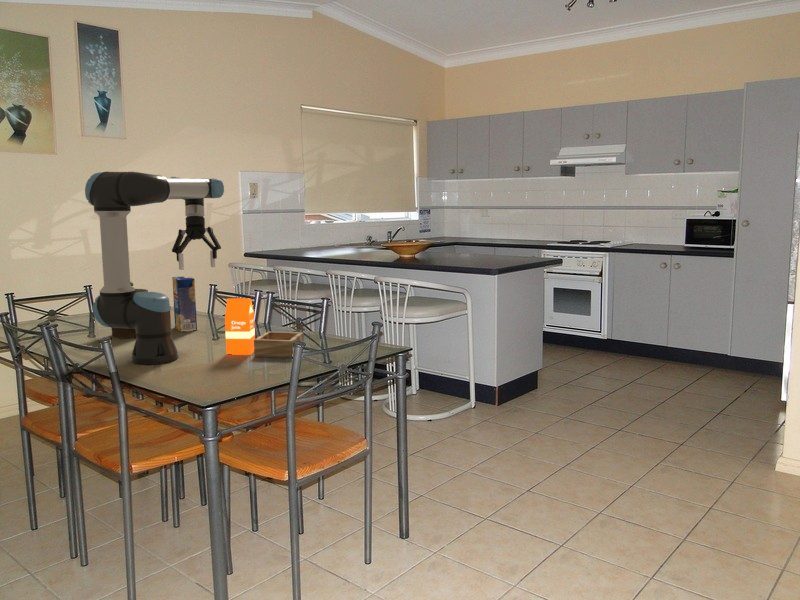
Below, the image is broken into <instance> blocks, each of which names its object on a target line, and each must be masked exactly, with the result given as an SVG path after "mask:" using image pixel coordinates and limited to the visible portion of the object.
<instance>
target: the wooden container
mask: <svg viewBox="0 0 800 600" xmlns="http://www.w3.org/2000/svg"><path fill="white" fill-rule="evenodd" d="M130 284H131V286H132V287H133V286H134V283H133V282H132V281H130ZM137 292H149V290H148V289H145V288H135V293H137ZM111 336H112V337H113V338H115V337H117V338H116V339H136V329H126V328H111Z"/></svg>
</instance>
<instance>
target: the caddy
mask: <svg viewBox="0 0 800 600" xmlns="http://www.w3.org/2000/svg"><path fill="white" fill-rule="evenodd" d="M304 337H305V335H304V331H303V332H299V331H268V330H267V331H266V332H264V333H262V334H261V335H260V336H257V338H256V337H255V340H254V352H253V353H254V354H253V356H256V357H259V358H285V357H291V358H292V354H293V346H292V344H293V342H294V341H304V342H305V338H304ZM256 357H255V358H256ZM292 359H293V358H292Z"/></svg>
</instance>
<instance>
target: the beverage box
mask: <svg viewBox="0 0 800 600" xmlns="http://www.w3.org/2000/svg"><path fill="white" fill-rule="evenodd" d="M171 278H172V279H171V281H172V296H173V312H174V315H173V316H174V328H175V329H178V330H177V331H179V332H180V333H183V332H182V331H186V332H193V330H196V331H198V325H197V324H198V323H197V321H198V320H197V305H196V304H197V303H196V301H197V300H196V284H195V282H196V281H195V278H193V277H191V276H189V275H185V276H173V277H171Z"/></svg>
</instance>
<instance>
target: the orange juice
mask: <svg viewBox="0 0 800 600" xmlns="http://www.w3.org/2000/svg"><path fill="white" fill-rule="evenodd" d="M252 302H253V301H252V298H245V297H244V298H243V297H242V298H238V297H236V298H227V299H226V305H225V313H224V314H225V315H224V328H225V330H224V331H225V346H226V347H225V348H226V349H225V350H226V355H227V354H232V355H231V356H250V355H252V354H253V353H254V340H255V339H256V330H255V311H254V307H253V303H252Z"/></svg>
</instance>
